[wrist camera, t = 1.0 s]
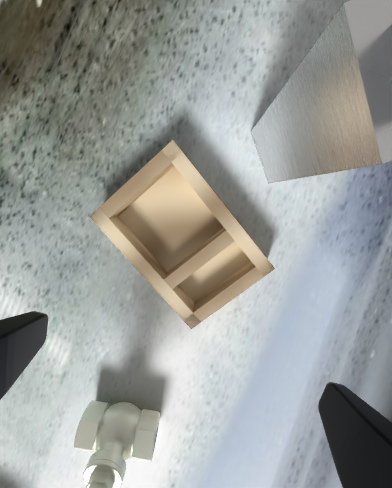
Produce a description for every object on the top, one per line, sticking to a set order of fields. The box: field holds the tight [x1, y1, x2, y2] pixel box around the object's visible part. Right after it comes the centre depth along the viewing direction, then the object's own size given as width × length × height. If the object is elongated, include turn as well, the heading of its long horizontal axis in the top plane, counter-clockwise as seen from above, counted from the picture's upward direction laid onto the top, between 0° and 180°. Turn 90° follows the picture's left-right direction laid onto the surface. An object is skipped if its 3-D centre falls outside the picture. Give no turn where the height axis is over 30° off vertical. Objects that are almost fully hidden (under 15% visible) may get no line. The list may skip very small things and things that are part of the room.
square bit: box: [251, 0, 392, 184], centre depth 10 cm, size 4×4×14 cm
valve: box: [74, 401, 160, 488], centre depth 17 cm, size 7×7×12 cm
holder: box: [89, 140, 275, 329], centre depth 17 cm, size 12×8×2 cm
